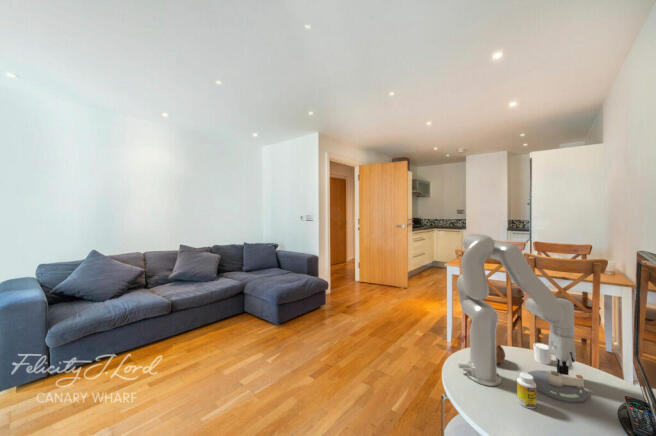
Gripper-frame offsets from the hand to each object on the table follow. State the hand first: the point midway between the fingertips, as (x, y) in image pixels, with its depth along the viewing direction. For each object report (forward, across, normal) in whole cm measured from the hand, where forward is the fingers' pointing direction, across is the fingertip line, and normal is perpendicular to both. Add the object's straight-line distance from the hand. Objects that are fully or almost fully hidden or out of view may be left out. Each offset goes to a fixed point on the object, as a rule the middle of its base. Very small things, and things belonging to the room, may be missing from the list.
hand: (562, 374), depth 107 cm
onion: (+3, -9, -22) cm, 24 cm away
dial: (+2, +6, -6) cm, 8 cm away
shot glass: (+3, -14, 0) cm, 14 cm away
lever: (+1, +6, -2) cm, 6 cm away
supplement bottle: (+3, +19, -21) cm, 28 cm away
